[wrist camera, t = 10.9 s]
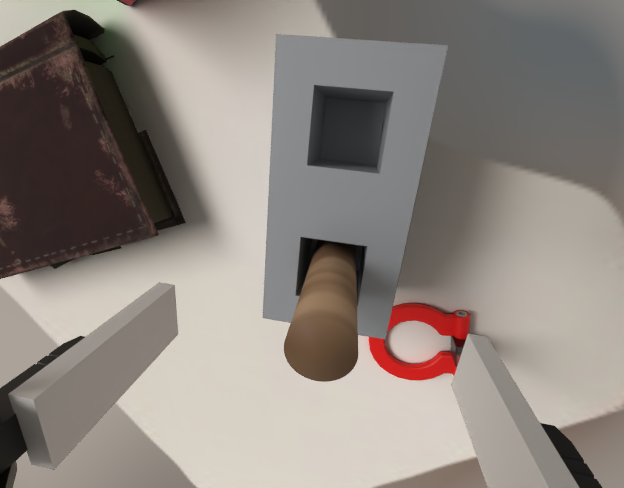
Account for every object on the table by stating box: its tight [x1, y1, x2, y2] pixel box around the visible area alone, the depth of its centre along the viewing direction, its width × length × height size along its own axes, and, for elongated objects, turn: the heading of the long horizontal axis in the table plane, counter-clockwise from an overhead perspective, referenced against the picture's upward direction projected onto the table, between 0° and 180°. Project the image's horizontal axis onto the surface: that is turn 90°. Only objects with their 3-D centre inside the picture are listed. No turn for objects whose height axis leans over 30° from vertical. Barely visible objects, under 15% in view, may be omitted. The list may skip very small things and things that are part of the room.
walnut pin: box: [284, 239, 358, 381], centre depth 20 cm, size 3×3×14 cm
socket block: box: [263, 34, 448, 340], centre depth 23 cm, size 18×9×8 cm, turn 174°
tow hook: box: [369, 303, 470, 380], centre depth 25 cm, size 8×13×9 cm
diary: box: [0, 10, 186, 279], centre depth 29 cm, size 19×25×5 cm
